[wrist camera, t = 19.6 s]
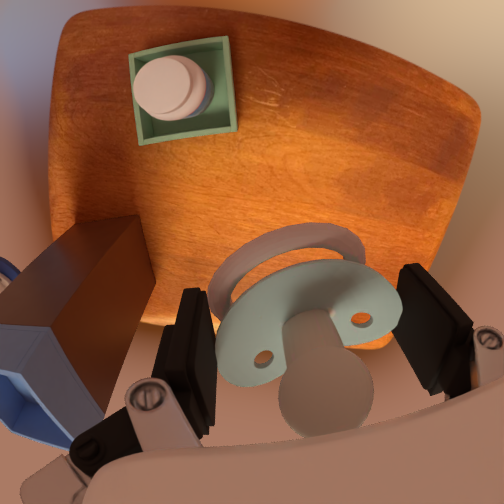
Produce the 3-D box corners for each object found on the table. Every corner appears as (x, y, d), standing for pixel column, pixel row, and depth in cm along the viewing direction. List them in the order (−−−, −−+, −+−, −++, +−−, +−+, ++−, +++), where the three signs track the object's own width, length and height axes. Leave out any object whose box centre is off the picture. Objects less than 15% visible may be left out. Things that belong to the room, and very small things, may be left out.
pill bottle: (200, 57, 28) (180, 34, 18) (223, 103, 30) (214, 99, 20) (152, 83, 29) (112, 74, 19) (175, 127, 31) (144, 136, 21)
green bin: (151, 141, 32) (138, 146, 28) (142, 60, 28) (128, 54, 24) (238, 128, 32) (237, 131, 28) (229, 44, 28) (227, 35, 24)
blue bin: (95, 287, 41) (11, 432, 17) (74, 224, 37) (-52, 354, 13) (156, 283, 41) (92, 456, 17) (139, 214, 36) (20, 373, 13)
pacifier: (178, 265, 12) (243, 365, 14) (134, 388, 6) (246, 481, 8) (354, 188, 11) (386, 308, 13) (456, 263, 5) (449, 409, 7)
